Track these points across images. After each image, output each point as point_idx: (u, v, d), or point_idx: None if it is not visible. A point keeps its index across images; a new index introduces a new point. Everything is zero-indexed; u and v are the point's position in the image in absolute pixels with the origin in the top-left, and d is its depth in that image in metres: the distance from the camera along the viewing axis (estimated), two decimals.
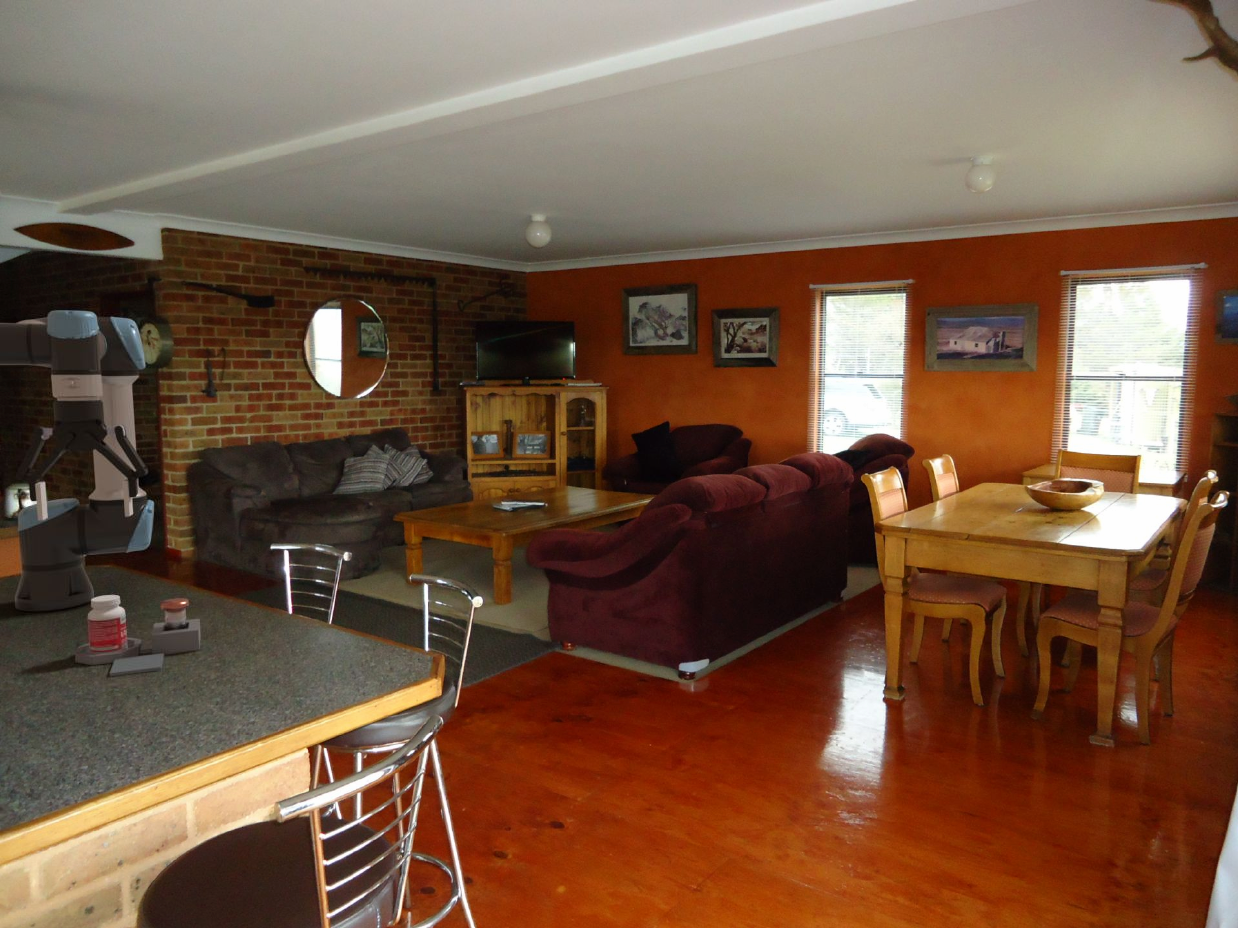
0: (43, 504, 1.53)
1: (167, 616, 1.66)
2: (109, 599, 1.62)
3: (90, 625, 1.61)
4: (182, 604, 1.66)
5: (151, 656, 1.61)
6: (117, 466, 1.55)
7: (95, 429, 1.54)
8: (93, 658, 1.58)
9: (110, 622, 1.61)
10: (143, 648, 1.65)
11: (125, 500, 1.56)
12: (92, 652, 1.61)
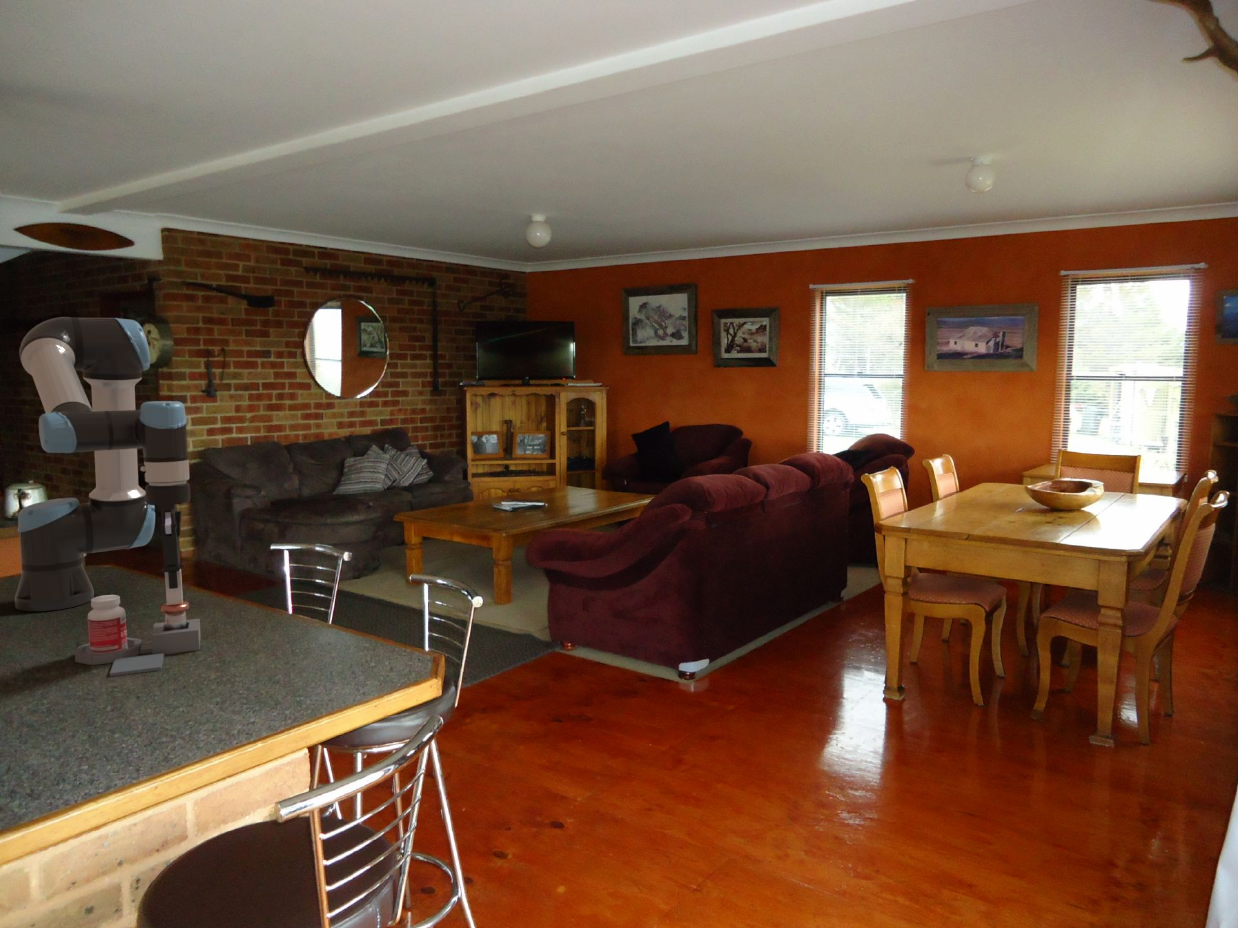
0: None
1: (167, 619, 1.66)
2: (109, 599, 1.62)
3: (90, 625, 1.61)
4: (182, 607, 1.66)
5: (151, 656, 1.61)
6: None
7: None
8: (93, 658, 1.58)
9: (110, 622, 1.61)
10: (143, 648, 1.65)
11: (166, 589, 1.66)
12: (92, 652, 1.61)
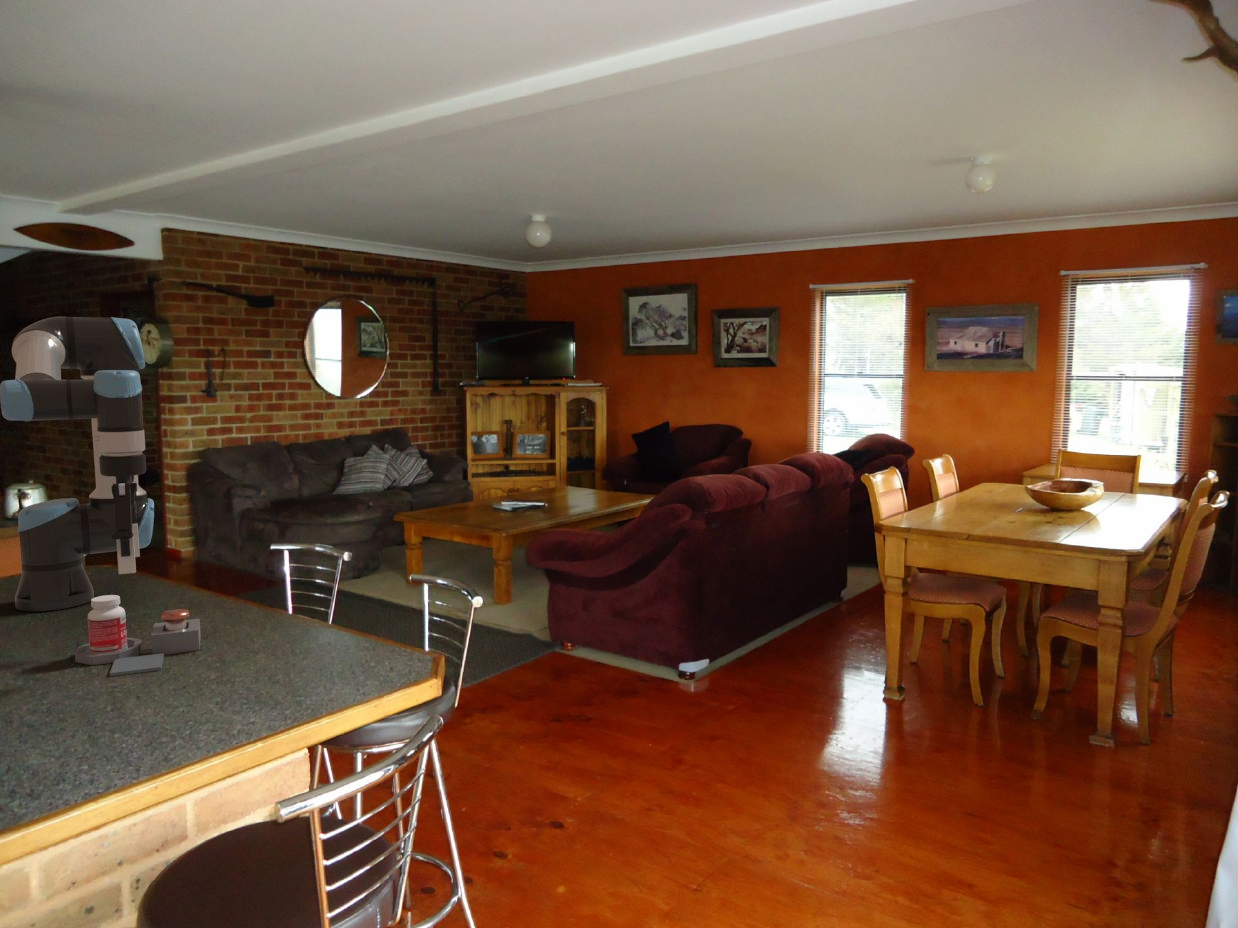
0: None
1: (168, 627, 1.66)
2: (109, 599, 1.62)
3: (90, 625, 1.61)
4: (183, 615, 1.67)
5: (151, 656, 1.61)
6: None
7: None
8: (93, 658, 1.58)
9: (110, 622, 1.61)
10: (143, 648, 1.65)
11: None
12: (92, 652, 1.61)
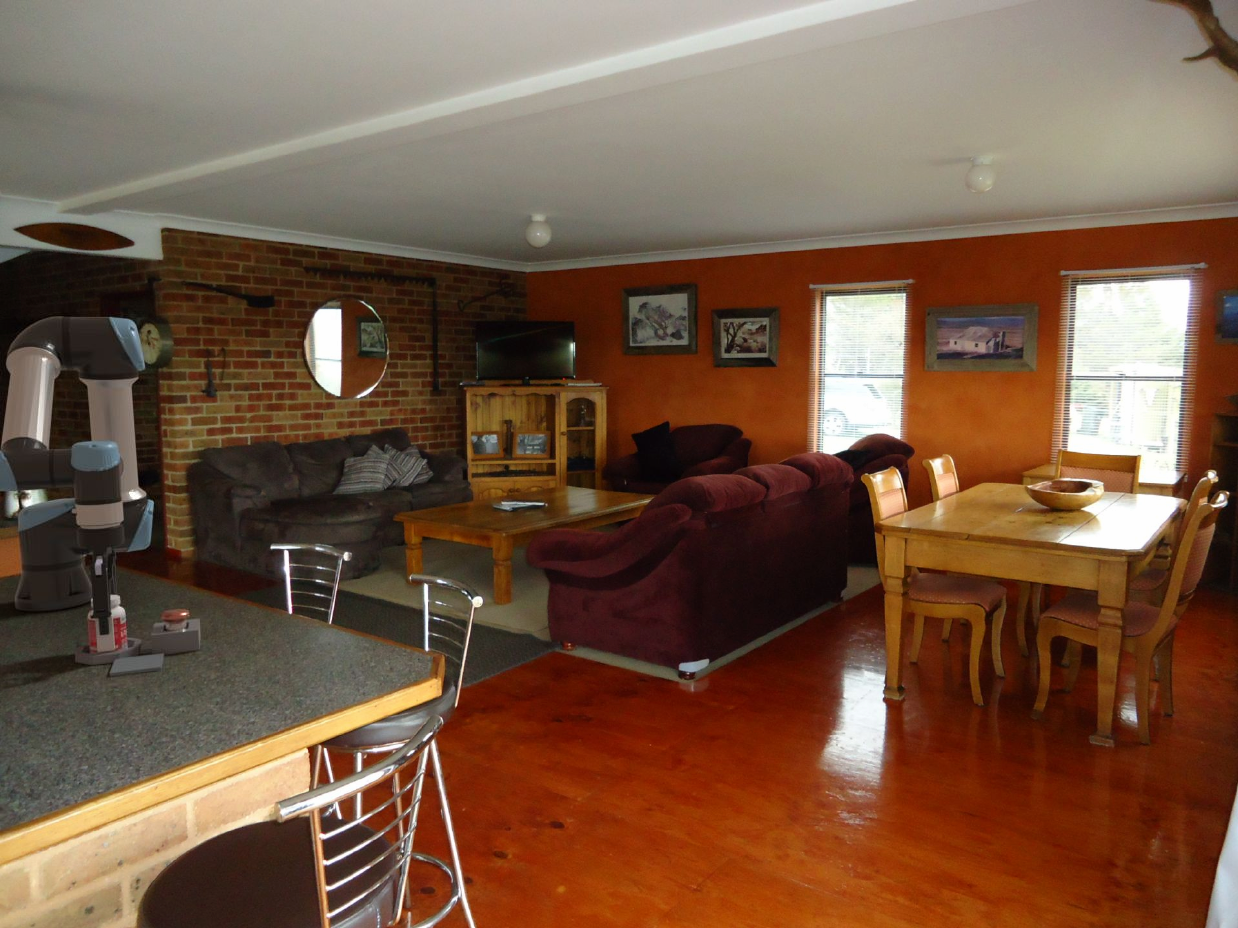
0: None
1: (168, 627, 1.66)
2: None
3: (90, 625, 1.61)
4: (183, 615, 1.67)
5: (151, 656, 1.61)
6: None
7: None
8: (93, 658, 1.58)
9: None
10: (143, 648, 1.65)
11: (96, 635, 1.60)
12: (92, 652, 1.61)
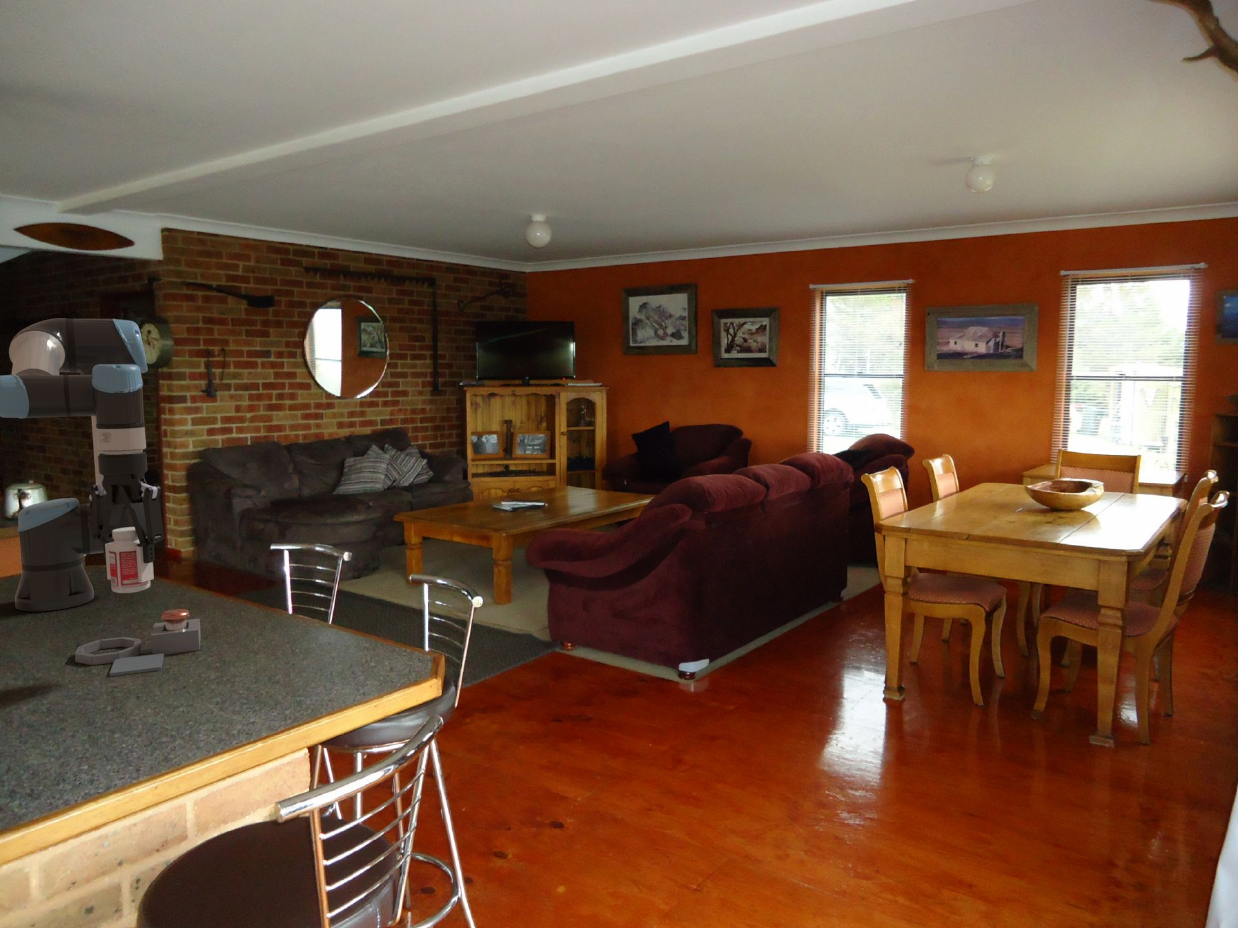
0: None
1: (168, 627, 1.66)
2: None
3: (125, 557, 1.53)
4: (183, 615, 1.67)
5: (151, 656, 1.61)
6: (136, 528, 1.53)
7: (131, 482, 1.52)
8: (93, 658, 1.58)
9: None
10: (143, 648, 1.65)
11: (138, 566, 1.53)
12: (127, 586, 1.53)
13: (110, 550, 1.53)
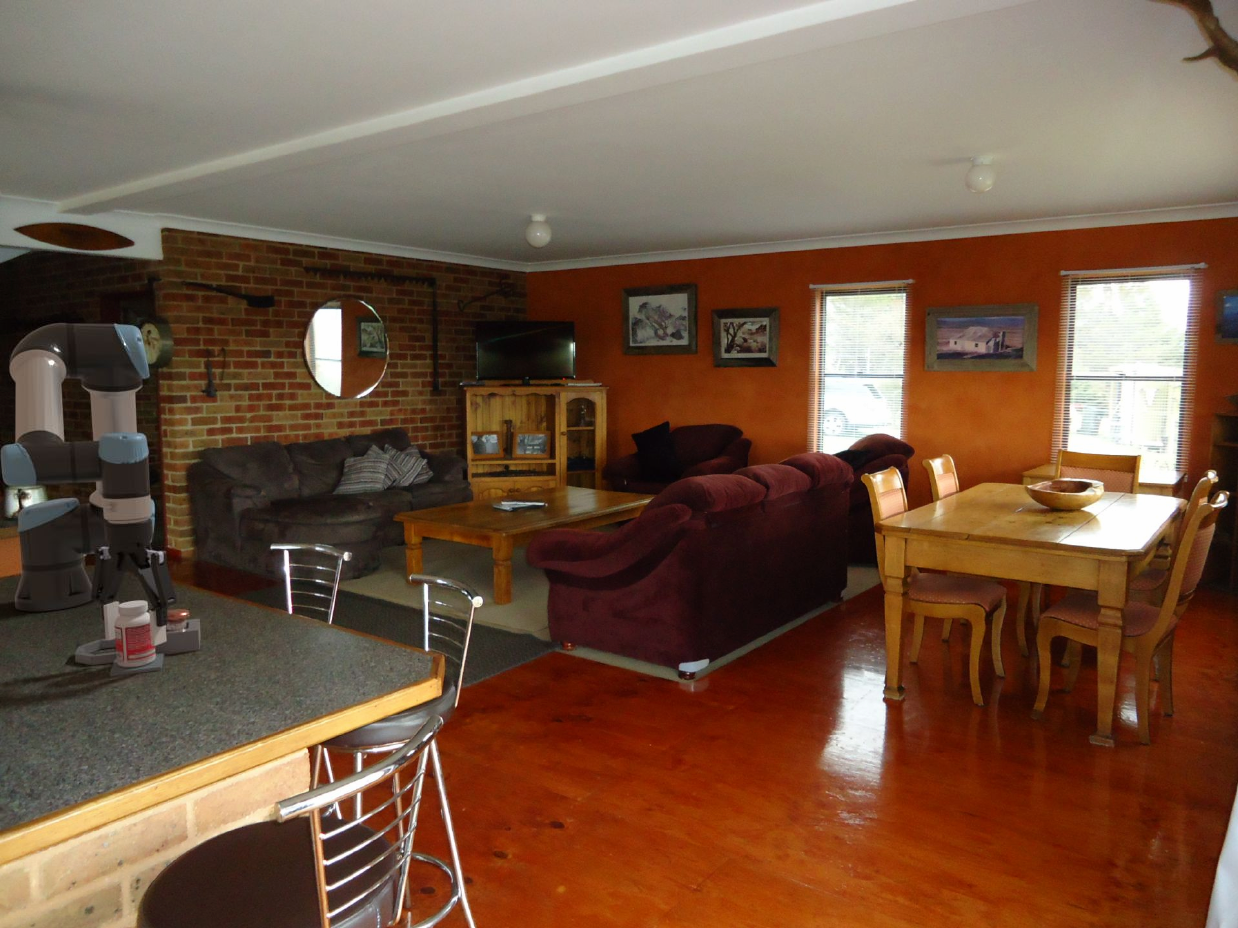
0: (112, 624, 1.58)
1: (168, 627, 1.66)
2: (142, 603, 1.57)
3: (131, 632, 1.54)
4: (183, 615, 1.67)
5: None
6: (147, 593, 1.54)
7: (137, 550, 1.54)
8: (93, 658, 1.58)
9: None
10: None
11: (151, 629, 1.54)
12: (133, 660, 1.55)
13: (116, 625, 1.55)
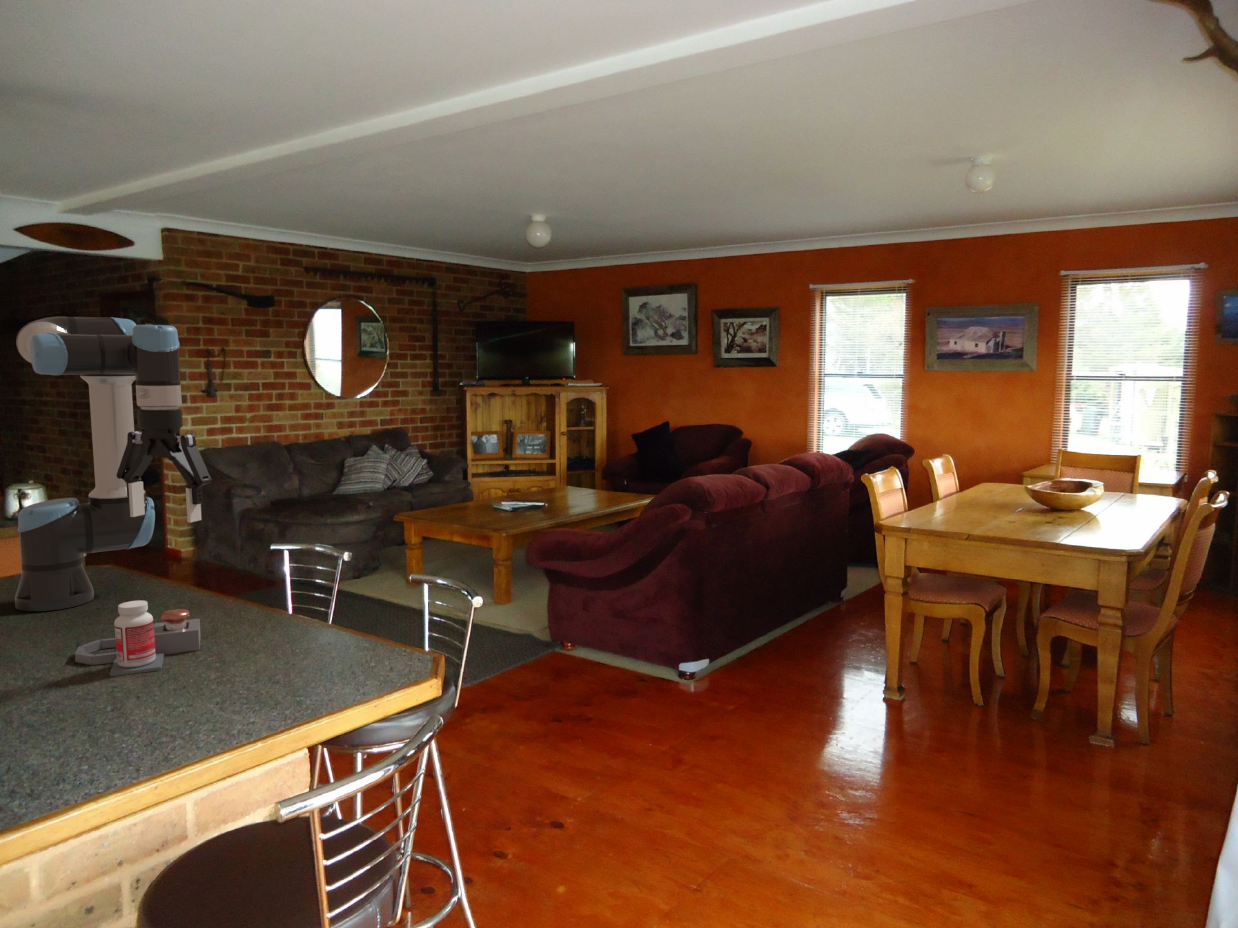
0: (136, 502, 1.67)
1: (168, 627, 1.66)
2: (142, 603, 1.57)
3: (131, 632, 1.54)
4: (183, 615, 1.67)
5: None
6: (182, 474, 1.62)
7: (167, 437, 1.62)
8: (93, 658, 1.58)
9: (151, 625, 1.57)
10: None
11: (187, 507, 1.62)
12: (133, 660, 1.55)
13: (116, 625, 1.55)
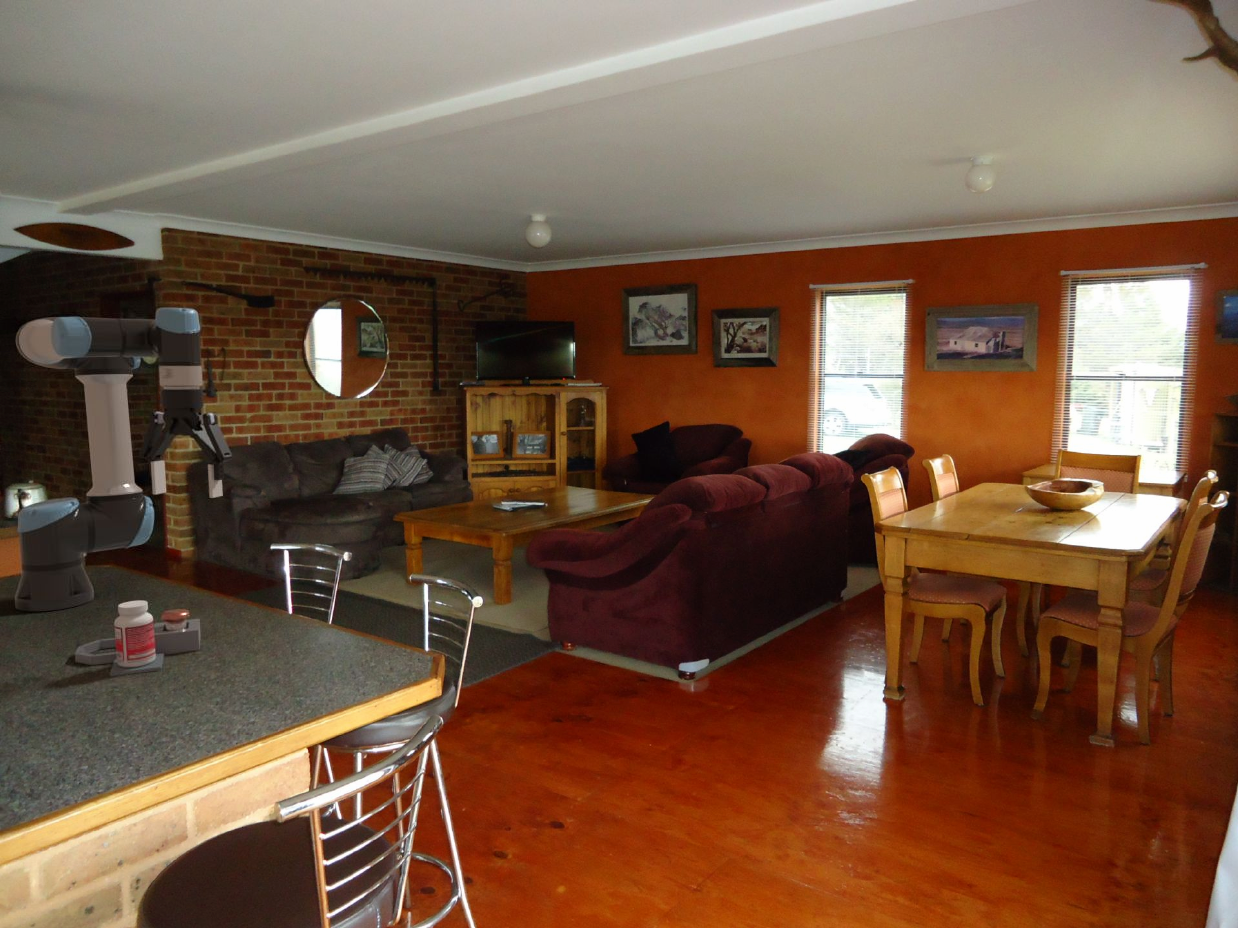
0: (158, 480, 1.73)
1: (168, 627, 1.66)
2: (142, 603, 1.57)
3: (131, 632, 1.54)
4: (183, 615, 1.67)
5: None
6: (204, 451, 1.68)
7: (189, 416, 1.68)
8: (93, 658, 1.58)
9: (151, 625, 1.57)
10: None
11: (209, 482, 1.69)
12: (133, 660, 1.55)
13: (116, 625, 1.55)
